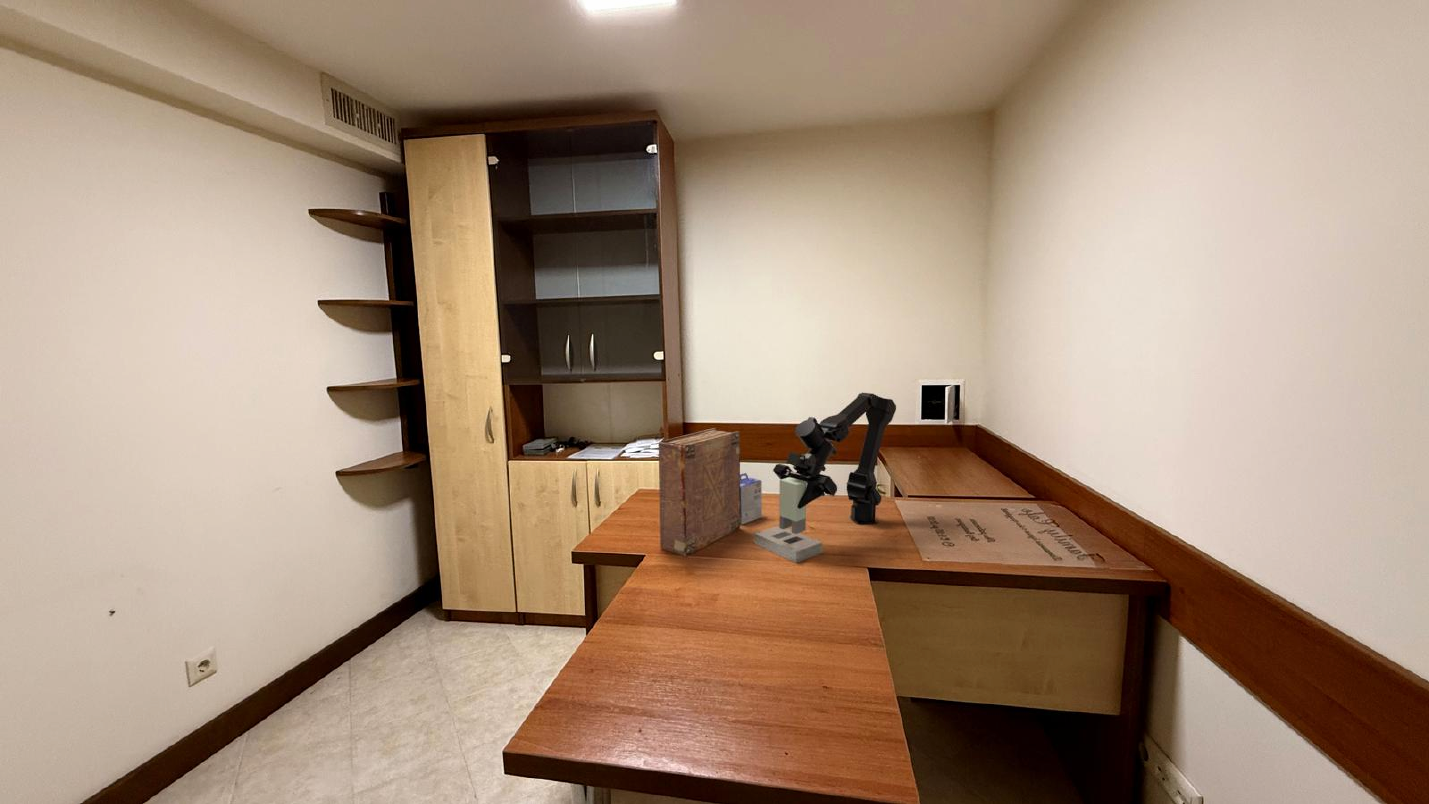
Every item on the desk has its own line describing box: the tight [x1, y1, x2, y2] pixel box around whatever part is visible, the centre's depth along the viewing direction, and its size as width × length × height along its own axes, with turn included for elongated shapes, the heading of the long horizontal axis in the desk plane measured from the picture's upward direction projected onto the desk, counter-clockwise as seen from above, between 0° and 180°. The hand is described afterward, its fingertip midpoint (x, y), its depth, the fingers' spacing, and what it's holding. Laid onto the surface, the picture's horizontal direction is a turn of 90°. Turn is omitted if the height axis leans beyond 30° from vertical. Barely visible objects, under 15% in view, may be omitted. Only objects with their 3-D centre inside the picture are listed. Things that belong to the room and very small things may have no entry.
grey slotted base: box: [753, 525, 823, 564], centre depth 145 cm, size 10×16×3 cm, turn 38°
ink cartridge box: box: [740, 472, 763, 526], centre depth 167 cm, size 10×6×14 cm, turn 134°
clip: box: [778, 477, 807, 534], centre depth 143 cm, size 4×6×14 cm, turn 41°
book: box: [658, 427, 741, 558], centre depth 150 cm, size 25×9×30 cm, turn 143°
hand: (789, 505), depth 142 cm, fingers closed on clip, 6 cm apart
